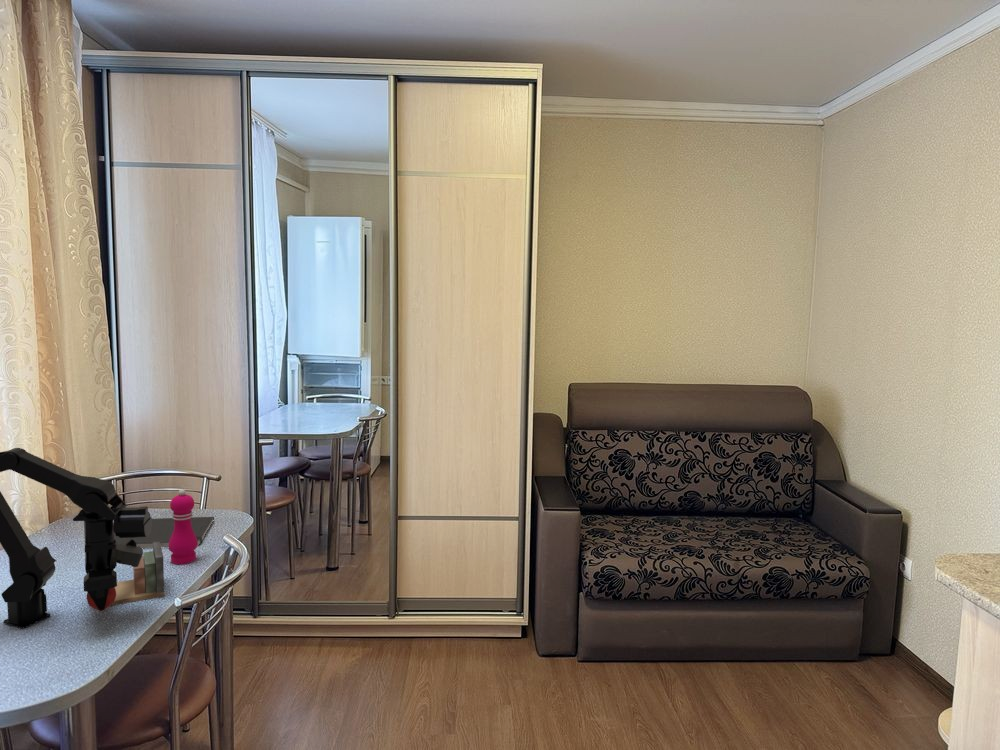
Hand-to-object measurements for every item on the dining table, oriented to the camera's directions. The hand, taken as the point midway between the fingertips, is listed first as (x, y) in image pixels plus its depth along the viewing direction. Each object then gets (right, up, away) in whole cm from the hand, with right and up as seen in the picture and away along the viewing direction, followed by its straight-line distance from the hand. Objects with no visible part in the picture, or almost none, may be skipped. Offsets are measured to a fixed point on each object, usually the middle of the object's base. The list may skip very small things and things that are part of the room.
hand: (101, 604), depth 156 cm
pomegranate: (0, -2, 0) cm, 2 cm away
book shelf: (-1, -1, +12) cm, 12 cm away
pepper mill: (+3, +1, +33) cm, 33 cm away
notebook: (-12, +3, +50) cm, 52 cm away
